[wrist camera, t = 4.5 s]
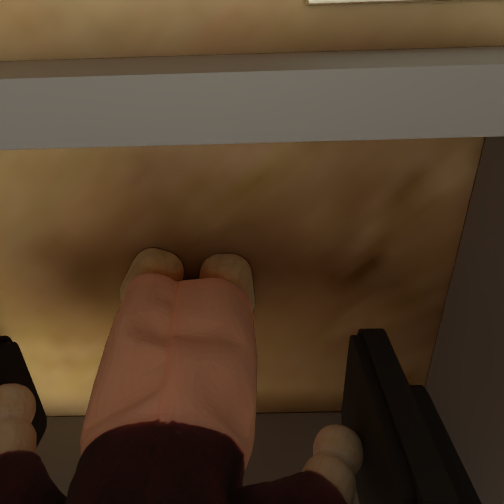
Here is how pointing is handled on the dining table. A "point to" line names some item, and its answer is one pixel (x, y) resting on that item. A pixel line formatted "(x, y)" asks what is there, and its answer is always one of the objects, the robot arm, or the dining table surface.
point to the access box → (305, 130)
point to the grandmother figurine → (173, 404)
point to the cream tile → (355, 1)
